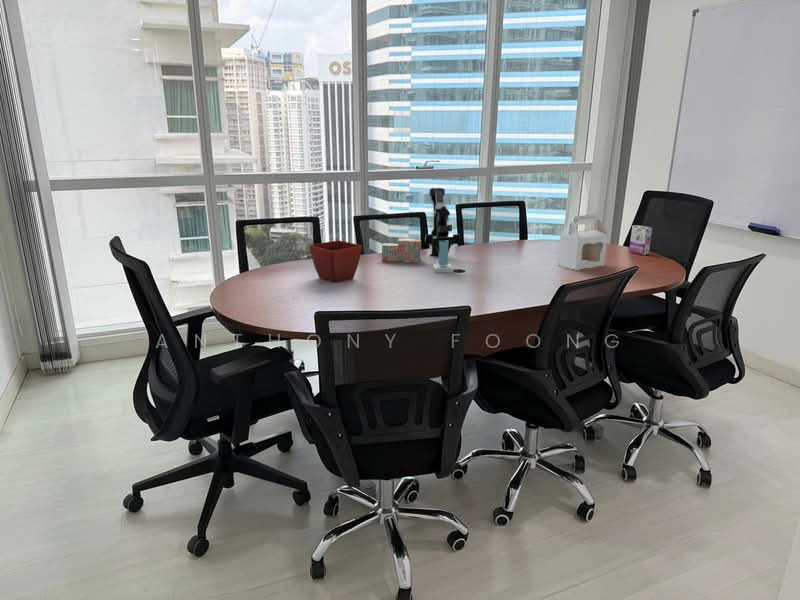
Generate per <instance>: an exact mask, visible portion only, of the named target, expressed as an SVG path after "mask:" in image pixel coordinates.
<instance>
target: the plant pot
mask: <svg viewBox="0 0 800 600" xmlns="http://www.w3.org/2000/svg"><path fill="white" fill-rule="evenodd" d="M362 248H363V246H362V245H361V244H357V243H353V242H347V241H344V240H343V241H342V240H333V241H332V240H331V241H325V242H320V243H313V244H309V250H310V251H309V253H310V255H311V256H310V257H311V260H312V262H313V265H314V268H315V271H316V274H317V275H318V278H319V279H322V280H325V281H329V282H331V283H338V282H343V281H347V280H352V279H354V278H355V275H356V272H357V269H358V266H359V263H360V259H361V255H362Z"/></svg>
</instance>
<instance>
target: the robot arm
mask: <svg viewBox="0 0 800 600" xmlns="http://www.w3.org/2000/svg"><path fill="white" fill-rule="evenodd" d="M428 193H429V194H428V195H429V196H430V201H431V202H432V204H433V205H432V207H433V210H432V213H433V214H432V215H433V217H432V218H433V224H432V225H433V229H432V230H431V232H430V233H426V234H425V237H424V244H425V245H429V246H431V253H430V254H429V256H430V257H438V256H439V241H448V254H449V252H450V249H451V247H452V246H454V245H460V243H461V239H462V236H461V234H460V233H458V234H457V233H455V234H454V233H453V234H452V236H449V232H452V230H453V226H452V224H448V221H449V216H451V212H450V211H449V209H448V207H447V205H446V204H445V202H444V197H445V195H446V194H445V193H446V191H445V189H444V188H443V187H431V188H430V189H429V191H428Z"/></svg>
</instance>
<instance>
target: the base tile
mask: <svg viewBox="0 0 800 600" xmlns="http://www.w3.org/2000/svg"><path fill="white" fill-rule="evenodd" d="M432 270H433V272H434V273H454V267H453V264H452V263H448V265H439V264H438V263H432Z"/></svg>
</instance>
